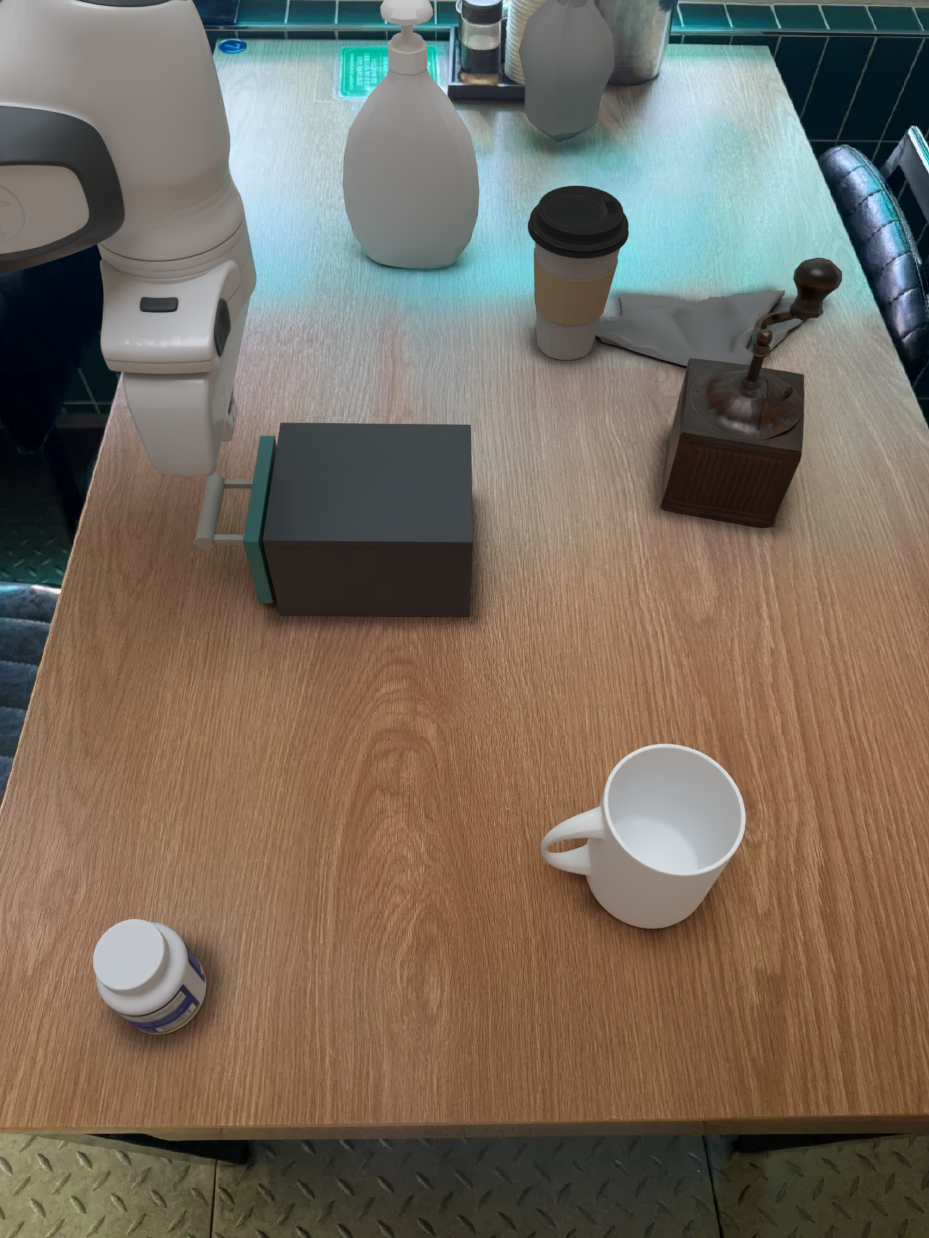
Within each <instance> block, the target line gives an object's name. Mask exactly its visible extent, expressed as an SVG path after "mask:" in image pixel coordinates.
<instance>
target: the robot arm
mask: <svg viewBox="0 0 929 1238" xmlns="http://www.w3.org/2000/svg"><path fill="white" fill-rule="evenodd" d="M214 59H215V58H214V56H213V52H212V48H211V44H210V42H209V38H208V36H207V32H206V30H205V27H204V24H203V21H202V19H201V16H200V14H199V11H198V9H197V7H196V5H195V3H194V1H193V0H0V274H6V273H15V272H18V271H23V270H27V269H30V268H34V267H37V266H40V265H44V264H46V263H51V262H53V261H56V260H59V259H62V258H65V257H68V256H71V255H74V254H76V253H79V252H82V251H84V250H87V249H89V248H92V247H95V246H96V245H97V248H98V252H99V254H100V257H101V260H100V262H99V268H100V273H101V279H102V287H103V302H102V317H101V329H100V330H101V331H100V350H101V354H102V357H103V360H104V362H105V364H106V366H107V368H108V369H109V370H110V371H112V372H120V373H122V386H123V392H124V397H125V400H126V404H127V407H128V410H129V412H130V415H131V418H132V422H133V423H134V426H135V429H136V431H137V433H138V437H139V439H140V441H141V443H142V446H143V448H144V450H145V453H146V454H147V458H148V459H149V461H150V464H151V465H152V466H153V468H154V469H155V470H156V472H158V473H159V474H162V475H163V476H166V477H175V478H200V477H204V478H205V477H208V476H211V475H213V474H214V473H216V472H217V469H218V465H219V459H220V453H221V448H222V443H229V442H231V441H232V440H233V436H234V432H235V426H236V421H237V416H238V407H237V406H238V405H237V404H236V403H237V402H236V398H235V377H236V372H237V368H238V363H239V358H240V352H241V347H242V343H243V338H244V332H245V327H246V321H247V317H248V313H249V307H250V302H251V298H252V295H253V293H254V291H255V289H256V286H257V280H258V279H257V278H258V276H257V270H256V264H255V259H254V253H253V248H252V243H251V238H250V232H249V228H248V221H247V216H246V212H245V205H244V201H243V198H242V195H241V193H240V191H239V189H238V187H237V185H236V184H235V181H234V178H233V176H232V174H231V169H230V154H231V133H230V126H229V123H228V122H229V121H228V116H227V111H226V106H225V101H224V95H223V92H222V88H221V83H220V79H219V75H218V71H217V66H216V63H215V60H214Z"/></svg>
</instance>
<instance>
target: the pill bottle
mask: <svg viewBox="0 0 929 1238" xmlns="http://www.w3.org/2000/svg"><path fill="white" fill-rule="evenodd" d="M94 947H95V948H94V951H93V954H92V966H93V971H94V975H95V984H96V987H97V990H98V993H99V995H100V997H101V998H102V1000H103V1001H104V1003H105V1004H106V1005H107V1006H108V1007H110V1009H112V1011H114V1012H115V1013H117V1014H118V1015H119V1016H120V1017H122V1018H123V1019H124V1020H126V1021H127V1022H128V1023H129V1024H131V1025H132V1026H133V1027H134V1028H136V1029H137V1030H139V1031H141V1032H143V1033H145V1034H149V1035H166V1034H170V1033H173V1032H175V1031H177V1030H179V1029H182V1028H183V1027H185V1025H188V1024H189V1022H190V1021H192V1019H193V1018H194V1017H195V1016H196V1015H197V1014H198V1012H199V1010H200V1008H201V1007H202V1004H203V1002H204V1000H205V997H206V994H207V993H206V992H207V977H206V972H205V969H204V967H203V966H202V963H201V961H200V960H199V959H198V957H197V956H196V954H194V952H193V951H192V950H191V949H190V947H189V946H188V944H186V942H185V941H184V940H183V938H182V937H181V936H180V935H179V934H178V933H177V932H176V931H175V930H174V929H172V928H171V927H169V926H167V925H165V924H162V923H159V922H154V921H148V920H146V919H142V918H141V919H140V918H130V919H124V920H122V921H120V922H117V923H116V924H114V925H112V926H111V927H109V928H108V929H107V930H106V931H105V932H104V933H103V934H102V936H100V938H99V940H98V941H97V943H96V945H95V946H94Z"/></svg>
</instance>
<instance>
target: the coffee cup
mask: <svg viewBox="0 0 929 1238" xmlns="http://www.w3.org/2000/svg"><path fill="white" fill-rule="evenodd" d="M627 217H628V216H627V215H626V214H625V211H624V207H623V205H622V203H621V202H620V201H619V200H618V198H617V197H615V196H614V195H613V194H610V193H609V192H607V191H605V190H603V189H600V188H596V187H593V186H587V185H566V186H561V187H557V188H554V189H552V190H550V191H548V192H546V193H545V194H544V195H542V197H541V198H540V200H539V201H538V204H536V205H535V206H534V208H533V209H532V210H531V212H530V214H529V219H528V220H527V221H528V222H527V232H528V235H529V236H530V238H531V239H532V240H533V242H534V248H533V292H534V294H533V297H534V304H535V318H536V319H535V320H536V321H535V322H536V323H535V324H536V325H535V326H536V328H535V329H536V343H537V346H538V348H539V350H540V351H541V352H542V353H543V354H544V355H546V356H547V357H548V358H551V359H554V360H559V361H574V360H578V359H582V358H584V357H586V356H587V355H588V354H589V353H590V352H591V350H592V347H593V344H594V342H595V338H596V337H595V335H596V331H597V328H598V324H599V322H601V317H602V315H603V314H604V311H605V309H606V305H607V302H608V298H609V295H610V291H611V289H612V285H613V281H614V278H615V274H616V271H617V267H618V263H619V253H620V250H621V248H622V247H624V245H625V244H627V243H626V242H627V241H628V239H629V235H630V231H629V227H630V226H629V220H628V218H627Z"/></svg>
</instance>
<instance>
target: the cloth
mask: <svg viewBox="0 0 929 1238" xmlns="http://www.w3.org/2000/svg"><path fill="white" fill-rule="evenodd" d="M785 295H786V290H785V289H784V290H775V291H774V290H773V291H772V290H766V291H758V292H746V293H745V292H743V293H734V294H731V295H729V296H712V297H711V296H709V297H708V298H705V299H703V300H700V301H696V302H692V301H687V300H686V301H685V300H681V299H674V298H670V297H663V296H657V295H646V294H637V293H621V294H619V302H620V308H621V315H620V316H619V317H617V318H616V319H614V320H606V321H599V324H598V328H597V331H596V335H595V338H599V339H600V340H601V342H602V343H604V344H609V345H614V346H617V347H620V348H623V349H626V350H629V351H633V352H636V353H639V354H643V355H646V356H650V357H653V358H656V359H659V360H663V361H666V362H670V363H674V364H677V365H681V366H685V367H687V364H688V361H689V358H695V359H704V360H712V361H721V362H728V363H735V364H742V365H749V366H750V364H751V361H752V358H753V354H752V353H751V350H752V346H753V343H752V333H753V329H754V326H755V323H756V321H757V320H758V319H759V318H760V317H761V316H764V315H766V314H769V313H774V312H780V311H788V310H790V309H789V307H790V304H791V303H793V301H794V300H795V298H796V297H786V298H784V297H785ZM802 323H804V321H801V320H800V319H796V318H795V319H792V320H788V321H785V322H781V323H776V324H772V325H770V326H768V327H766V329H768V330H770V331H771V332H772V334H773V339H772V341H771V343H770V344H769V347H770V351H771V350H772V349H773V348H775V346H776V345H778V344H779V343H781V341H782V340H784V338H785V337H786V336H787V334H788V332H789V331H791V330H792V329H794V328H796V327H797V326H798V327H799V325H801V324H802Z"/></svg>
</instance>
